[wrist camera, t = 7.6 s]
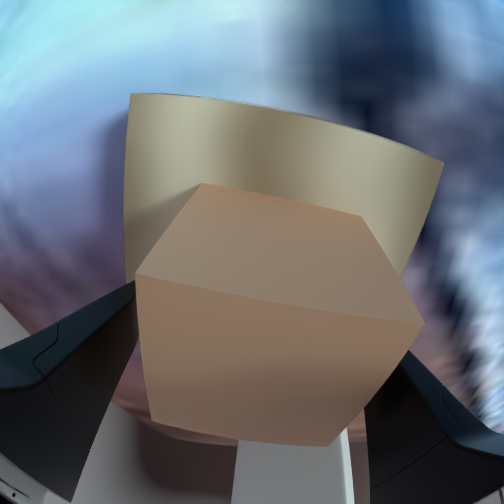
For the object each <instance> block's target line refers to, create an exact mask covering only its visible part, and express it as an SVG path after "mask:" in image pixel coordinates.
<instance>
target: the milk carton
mask: <svg viewBox="0 0 504 504" xmlns="http://www.w3.org/2000/svg"><path fill="white" fill-rule="evenodd" d="M231 504H354V493H353V482H352V471H351V461H350V452H349V444H348V435H347V428H345V429H344V431H343V432H342V433H341V434H340V435H339V436H338V437H337V438H336V439H335V440H334V441H333V442H332V443H331V444H330V445H329V446H328V447H322V446H297V445H283V444H272V443H262V442H253V441H246V440H239V441H238V451H237V458H236V467H235V475H234V484H233V492H232V501H231Z"/></svg>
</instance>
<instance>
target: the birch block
mask: <svg viewBox="0 0 504 504" xmlns="http://www.w3.org/2000/svg"><path fill="white" fill-rule="evenodd" d="M444 164H445V163H444V162H442V161H440V160H438V159H436V158H434V157H431V156H429V155H427V154H425V153H423V152H421V151H418V150H416V149H414V148H411V147H409V146H406V145H404V144H401V143H398V142H396V141H393V140H390V139H387V138H384V137H381V136H378V135H375V134H372V133H369V132H366V131H363V130H360V129H356V128H353V127H350V126H346V125H343V124H339V123H336V122H332V121H328V120H325V119H321V118H317V117H313V116H309V115H304V114H300V113H296V112H291V111H287V110H282V109H277V108H272V107H267V106H262V105H256V104H250V103H244V102H238V101H231V100H224V99H217V98H209V97H200V96H191V95H180V94H167V93H136V94H131V96H130V104H129V113H128V123H127V134H126V147H125V165H124V197H123V224H124V257H125V275H126V284H127V283H129V282H131V281H133V280H135V272H136V271H137V269H138V268H139V267H140V265H141V264H142V262H143V261H144V260H145V258H146V257H147V255H148V254H149V252H150V251H151V250H152V248H153V247H154V246H155V244H156V243H157V241H158V240H159V239H160V237H161V236H162V235H163V233H164V232H165V231H166V229H167V228H168V227H169V225H170V224H171V223H172V221H173V220H174V219H175V217H176V216H177V215H178V213H179V212H180V211H181V210H182V208H183V207H184V206H185V204H186V203H187V202H188V201H189V199H190V198H191V197H192V196H193V194H194V193H195V192H196V191H197V189H198V188H199V187H200V186H201V184H202V183H207V184H213V185H218V186H224V187H229V188H235V189H240V190H245V191H250V192H256V193H261V194H265V195H270V196H275V197H280V198H285V199H289V200H294V201H299V202H303V203H308V204H312V205H316V206H321V207H325V208H329V209H333V210H338V211H342V212H346V213H350V214H354V215H358V216H361V217H362V218H363V220H364V221H365V223H366V224H367V226H368V227H369V229H370V230H371V232H372V233H373V235H374V237H375V238H376V240H377V241H378V243H379V244H380V246H381V248H382V249H383V251H384V252H385V254H386V256H387V257H388V259H389V261H390V262H391V264H392V266H393V267H394V269H395V271H396V272H397V274H398V276H399V278H400V277H401V275H402V273H403V271H404V269H405V267H406V264H407V262H408V260H409V258H410V255H411V253H412V251H413V249H414V246H415V244H416V242H417V239H418V237H419V234H420V232H421V229H422V227H423V224H424V222H425V219H426V217H427V214H428V211H429V209H430V206H431V203H432V200H433V198H434V195H435V192H436V189H437V186H438V183H439V180H440V177H441V174H442V171H443V168H444ZM138 338H139V339H140V337H138Z"/></svg>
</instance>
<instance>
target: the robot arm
mask: <svg viewBox="0 0 504 504" xmlns="http://www.w3.org/2000/svg"><path fill="white" fill-rule="evenodd" d="M138 337H139V326H138V315H137V301H136V284H135V280H133V281H131V282H129V283H127V284H126V285H124V286H122V287H120V288H118V289H116V290H114V291H112V292H111V293H109V294H107V295H105V296H103V297H101V298H99V299H98V300H96V301H94V302H92V303H90V304H88V305H87V306H85V307H83V308H81V309H79V310H77V311H76V312H74V313H72V314H70V315H68V316H67V317H65V318H63V319H61V320H59V323H58V322H56V323H54V324H52V325H50V326H49V327H47V328H45V329H43V330H41V331H39V332H37V333H35V334H33V335H31V336H29V337H27V338H25V339H23V340H20V341H18V342H16V343H14V344H11V345H9V346H7V347H5V348H3V349H0V504H42V503H43V500H44V498H45V495H46V492H47V491H49V492H50V493H52V494H54V495H56V496H58V497H60V498H62V499H64V500H66V501H68V502H71V501H72V499H73V496H74V493H75V490H76V487H77V484H78V481H79V479H80V476H81V473H82V470H83V468H84V465H85V462H86V460H87V457H88V455H89V452H90V450H89V449H91V446H92V444H93V441H94V439H95V436H96V434H97V431H98V429H99V427H100V424H101V421H102V419H103V417H104V415H105V412H106V410H107V407H108V405H109V403H110V401H111V398H112V396H113V394H114V391H115V389H116V387H117V385H118V382H119V380H120V378H121V376H122V374H123V371H124V369H125V367H126V365H127V363H128V360H129V358H130V356H131V354H132V352H133V350H134V348H135V345H136V343H137V340H138ZM364 414H365V423H366V434H367V446H368V460H369V477H370V504H504V434H500V433H496V432H494V431H492V430H491V429H489V428H488V427H487V426H486V425H485V424H483V423H482V422H481V421H480V420H479V419H478V418H477V417H476V416H475V415H474V414H473V413H471V412H470V411H469V410H468V409H467V408H466V407H465V406H464V405H463V404H462V403H461V402H459V401H458V400H457V399H456V398H455V397H454V396H453V395H452V394H451V393H450V391H449V390H448V389H447V388H446V387H445V386H443V384H442V383H441V382H440V381H439V380H438V379H437V378H436V377H435V376H434V375H433V374H432V373H431V372H430V371H429V370H428V369H427V368H426V367H425V366H424V365H423V364H422V363H421V362H420V361H419V360H418V359H417V358H416V357H415V356H414V355H413V354H412V353H411V352H410V351H409V350H408V351H407V352H406V354H405V355H404V357H403V358H402V359H401V361H400V362H399V364H398V365H397V366H396V368H395V369H394V370H393V372H392V373H391V374H390V376H389V377H388V378H387V380H386V381H385V382H384V384H383V385H382V386H381V387H380V389H379V390H378V391H377V392H376V394H375V395H374V396H373V397H372V399H371V400H370V401H369V402H368V403H367V405H366V406H365V407H364Z"/></svg>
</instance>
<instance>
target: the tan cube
mask: <svg viewBox="0 0 504 504" xmlns="http://www.w3.org/2000/svg"><path fill="white" fill-rule="evenodd" d="M135 284H136V301H137V315H138V326H139V337H140V346H141V355H142V363H143V371H144V378H145V385H146V391H147V397H148V403H149V409H150V415H151V420H152V421H153V422H157V423H161V424H164V425H168V426H172V427H176V428H181V429H185V430H189V431H194V432H199V433H204V434H209V435H214V436H220V437H226V438H232V439H239V440H246V441H253V442H262V443H272V444H283V445H297V446H322V447H328V446H329V445H330V444H331V443H332V442H333V441H334V440H335V439H336V438H337V437H338V436H339V435H340V434H341V433H342V432H343V431H344V429H345V428H346V427H347V426H348V425H349V424H350V423H351V422H352V421H353V420H354V418H355V417H356V416H357V415H358V414H359V413H360V412H361V410H362V409H363V408H364V407H365V406H366V405H367V403H368V402H369V401H370V400H371V399H372V397H373V396H374V395H375V394H376V392H377V391H378V390H379V389H380V387H381V386H382V385H383V384H384V382H385V381H386V380H387V378H388V377H389V376H390V374H391V373H392V372H393V370H394V369H395V368H396V366H397V365H398V364H399V362H400V361H401V359H402V358H403V357H404V355H405V354H406V352H407V351H408V349H409V348H410V347H411V345H412V344H413V342H414V341H415V339H416V338H417V336H418V334H419V333H420V331H421V330H422V328H423V327H424V325H425V323H424V321H423V319H422V318H421V316H420V314H419V312H418V310H417V308H416V306H415V304H414V302H413V301H412V299H411V297H410V295H409V293H408V292H407V290H406V288H405V286H404V285H403V283H402V281H401V279H400V278H399V276H398V274H397V272H396V271H395V269H394V267H393V266H392V264H391V262H390V261H389V259H388V257H387V256H386V254H385V252H384V251H383V249H382V248H381V246H380V244H379V243H378V241H377V240H376V238H375V237H374V235H373V233H372V232H371V230H370V229H369V227H368V226H367V224H366V223H365V221H364V220H363V218H362V217H361V216H358V215H354V214H350V213H346V212H342V211H338V210H333V209H329V208H325V207H321V206H316V205H312V204H308V203H303V202H299V201H294V200H289V199H285V198H280V197H275V196H270V195H265V194H261V193H256V192H250V191H245V190H240V189H235V188H229V187H224V186H218V185H213V184H207V183H202V184H201V186H200V187H199V188H198V189H197V191H196V192H195V193H194V194H193V196H192V197H191V198H190V199H189V201H188V202H187V203H186V204H185V206H184V207H183V208H182V210H181V211H180V212H179V213H178V215H177V216H176V217H175V219H174V220H173V221H172V223H171V224H170V225H169V227H168V228H167V229H166V231H165V232H164V233H163V235H162V236H161V237H160V239H159V240H158V241H157V243H156V244H155V246H154V247H153V248H152V250H151V251H150V252H149V254H148V255H147V257H146V258H145V260H144V261H143V262H142V264H141V265H140V267H139V268H138V269H137V271H136V272H135Z"/></svg>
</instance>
